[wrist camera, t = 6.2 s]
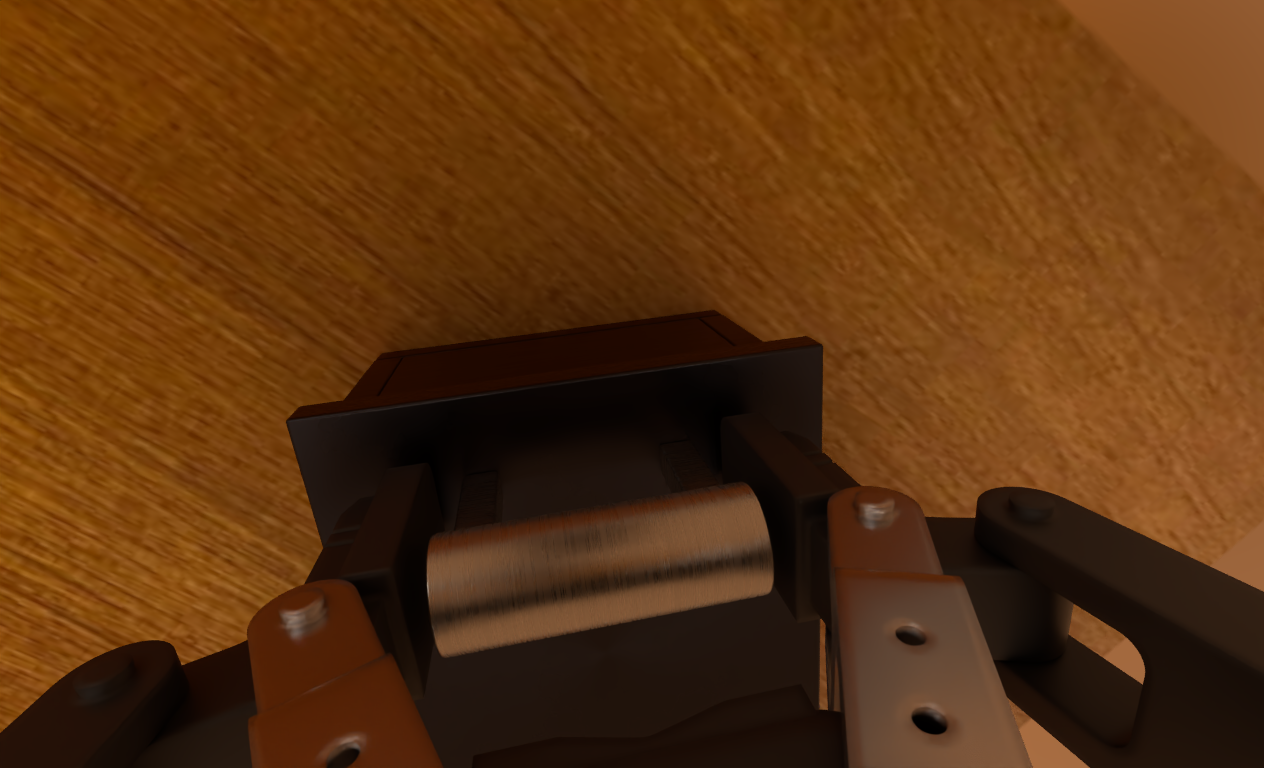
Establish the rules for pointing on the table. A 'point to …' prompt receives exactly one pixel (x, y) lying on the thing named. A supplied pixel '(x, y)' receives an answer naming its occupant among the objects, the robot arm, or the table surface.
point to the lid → (585, 540)
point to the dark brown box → (548, 352)
